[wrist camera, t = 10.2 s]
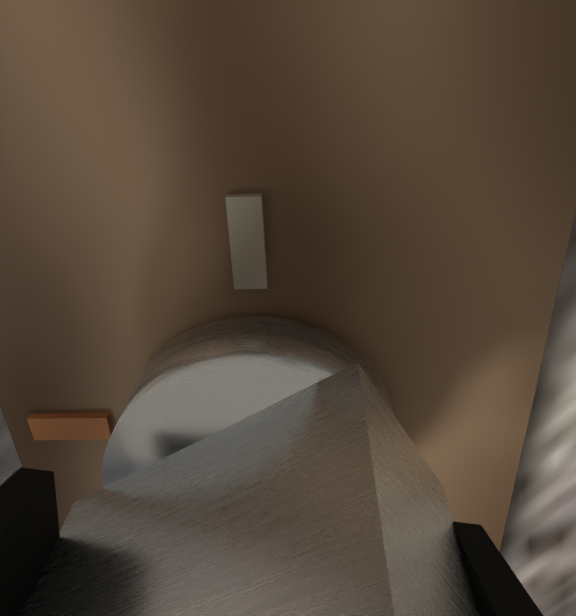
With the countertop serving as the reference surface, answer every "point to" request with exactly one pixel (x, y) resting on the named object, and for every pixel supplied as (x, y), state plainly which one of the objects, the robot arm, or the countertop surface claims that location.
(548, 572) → the countertop surface
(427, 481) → the cap
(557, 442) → the countertop surface
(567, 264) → the countertop surface
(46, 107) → the lock board
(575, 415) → the countertop surface
